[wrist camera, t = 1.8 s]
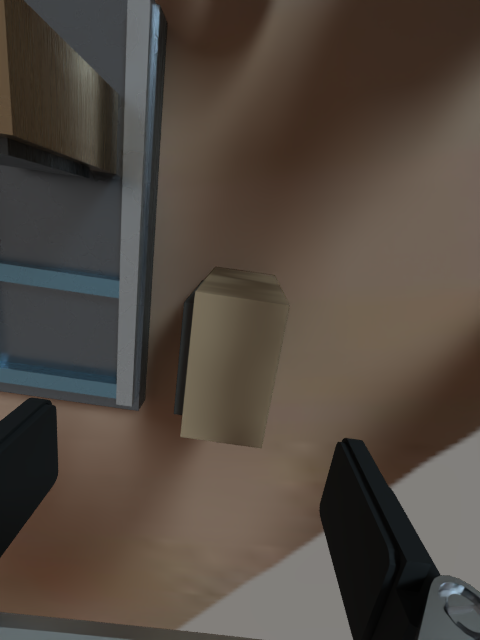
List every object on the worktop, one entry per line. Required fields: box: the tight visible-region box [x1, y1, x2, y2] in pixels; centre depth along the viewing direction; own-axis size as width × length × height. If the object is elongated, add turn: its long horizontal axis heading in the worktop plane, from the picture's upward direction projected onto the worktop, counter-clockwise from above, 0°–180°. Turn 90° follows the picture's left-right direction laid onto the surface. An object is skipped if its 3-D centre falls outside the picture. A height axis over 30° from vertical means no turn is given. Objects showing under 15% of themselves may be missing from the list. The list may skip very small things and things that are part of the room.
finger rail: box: [0, 0, 167, 411], centre depth 17 cm, size 12×26×11 cm, turn 172°
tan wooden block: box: [174, 267, 290, 448], centre depth 20 cm, size 5×8×9 cm, turn 172°
